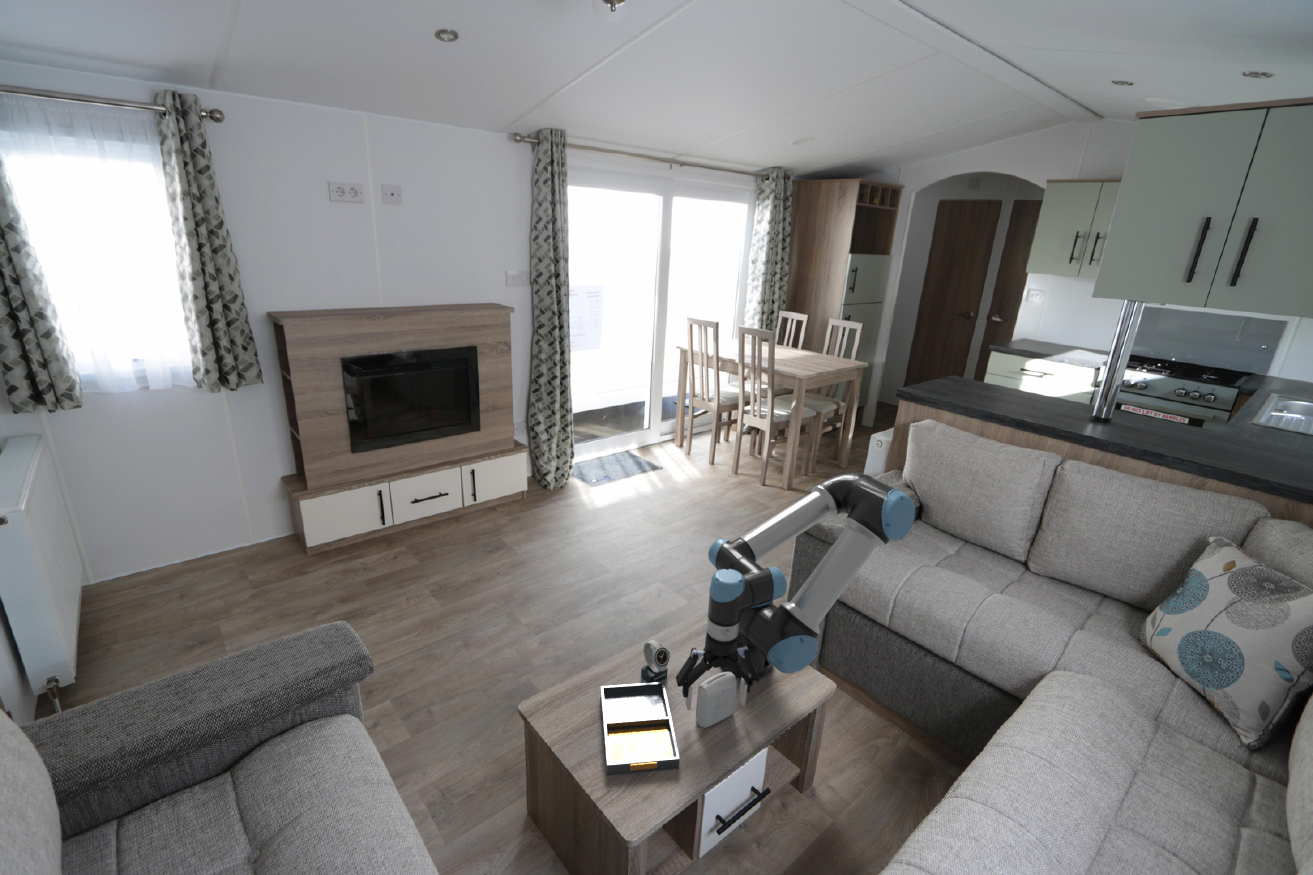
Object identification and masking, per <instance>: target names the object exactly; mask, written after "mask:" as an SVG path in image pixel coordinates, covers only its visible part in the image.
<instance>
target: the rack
mask: <svg viewBox="0 0 1313 875" xmlns="http://www.w3.org/2000/svg"><path fill="white" fill-rule="evenodd" d="M665 687H666V686H665V682H664V681H660V682H654V683H647V682H642V683H641V682H640V683H629V684H628V683H627V684H614V685H613V684H611V685H601V686H600V702H601V704H600V705H601V715H602V716H601V717H602V728H603V740H604V741H603V742H604V753H605V754H604V755H605V767H606V776H617V775H626V774H636V773H637V774H638V773H649V772H657V771H658V772H659V771H670V770H671V771H672V770H680V764H681V763H680V762H681V761H680V760H681V758H680V753H679V748H678V743H677V738H676V735H675V734H676V733H675V729H674V725H673V720H672V714H671V710H670V705H669V700H668V696H667V691H666V688H665Z"/></svg>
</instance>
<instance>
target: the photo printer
mask: <svg viewBox="0 0 1313 875" xmlns="http://www.w3.org/2000/svg"><path fill="white" fill-rule="evenodd" d="M697 688H698V689H697V696H696V697H697V698H696V708H695V709H696V710H695V719H696V723H697V725H698V726H699V727H700V728H705V729H706V728H709V727H711V726H713V725H715V724H717V723H720V722H721V721H723V720H725V719H727V718H729V717H731V716H732V715H733V714H734V710H735V709H734V708H735V702H736V693H737V692H736V691H737V678H736V677H735V675H734V674H732V672H725V671H723V672H720V673H717V674H715V675H713V676H711V677H709V678H707V679H706V680H704V681H703V682H702V683H700V684H699V686H698V687H697Z"/></svg>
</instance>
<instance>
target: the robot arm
mask: <svg viewBox="0 0 1313 875" xmlns="http://www.w3.org/2000/svg"><path fill="white" fill-rule="evenodd" d="M840 514H847V516H846V517H845V525H846V527H845V529H843V531H842V533H840V535H839V537H838V538H837V539H836V540H835V542H834V543H833V544H832V546H830V548H829V549H828V551H827V552H826V554H825V555H824V557H823V558H822V559H821V560H820V562H819V563H818V564H817V565H816V567H815V568H814V570H813V571H812V572H811V574H810V575H809V577H808V578H807V579H806V580H805V582H803V584H802V586H801V587H800V588H799V590H798V591H796V594H795V595H794V596H793V597H792V599H791V601H789V602H786V601H785V602H781V603H780V604H779V606H778V607H777V605H776V604H774V601H775V600H777V599H780V598H782V597H784V596H785V595H786V593H787V587H788V584H787V578H786V576H785V574H784V572H783V571H782V570H781V569H780V568H778V567H776V566H770V567H765V568H764V567H762V566H761V565H760V564H758V562H759V561H760V560H761V559H763V558H765V557H767V556H768V555H769V554H771V553H773V552H774V551H775V550H777V549H779V548H780V547H782V546H784V545H785V544H787V543H788V542H790V541H791V540H793V539H795V538H796V537H798V536H799V535H801V534H803V533H804V532H806V531H807V530H809V529H810V528H812V527H814V526H815V525H816V524H818V523H820V522H821V521H823V520H824V519H826V518H835V517H837V516H838V515H840ZM915 514H916V508H915V504H914V502H913V500H912V498H911V497H910V496H909V495H907V494H905V493H904V492H902V491H900V490H899V489H898V488H894V487H893V486H890V485H888V484H886V483H884V482H882V481H879V480H878V479H875V478H874V477H872V476H870V475H868V474H866V473H865V474H864V473H861V472H848V473H842V474H837V475H835V476H832V477H831V476H830V477H828V478H827V479H825V480H823V481H821V482H819V483H818V484H816V485H814V486H812V488H811V490H810V493H809V494H807V495H805V496H803V497H802V498H800V499H799V500H796V502H794V503H792V504H791V505H789V506H788V507H786V508H785V509H782V510H781V511H780V512H778V513H776V514H775V515H773V516H771V517H770V518H768V519H767V520H764V521H763V522H762V523H760V524H758V525H757V526H755V527H753V528H752V529H751V530H750V529H749V531H747V532H746V533H744V534H742V535H740V536H739V537H738V538H736V539H734V540H732V541H731V540H729V539H727V538H720V539H717V540H715V541H714V542H713V543H712V544H710V545H711V546H710V547H709V549H708V552H707V557H708V560H709V562H710V563H711V564H712V565H713V567H714V568H715V569H716V571H715V572H714V573H713V574H712V576H711V581H710V586H709V594H708V595H709V596H708V597H709V598H708V609H707V621H706V632H705V642H704V648H703V649H702V650H697V648H696V647H692V648H691V649H690V650H691V651H690V654H689V656H688V658H687V659H686V661H685V663H684V664H683V665H682V667H681V669H680V670H679V672H678V673H677V675H676V676H675V682H676V685H677V687H678V688H679V687H682V690H681V691H682V692H681V693H682V696H683V698H684V699H685V706H686V710H687V711H691V710H692V701H693V700H692V697H693V686H692V685H693V684H694V683H695V682H696V681H697V680H699V679H700V677H702V676H703V675H704V674H705V673H706V672H709V671H710V670H711V669H712V668H714V669H717V668H721V669H722V670H723V672H732V674H734V675H735V677H736V679H740V680H741V681H740V688H739V695H738V699H739V702H740V704H741V707H745V706H746V701H747V694H749V693H750V692H751V689H752V686H754V683H753V682H758V681H760V679H762V678H763V677H765V676H766V675H768V673H770V671H771V669H772V667H774V668H775V669H777V670H778V672H781V673H783V674H787V675H788V674H794V673H796V672H797V673H798V672H800V671H802V670H803V669H805V668H807V667H808V666H809V665H810V664H811V663H812V662H813V661H814V659H815V658H816V656H817V654H818V651H819V645H818V642H817V638H818V637H819V635H820V633H821V632H820V628H819V627H820V623H821V622H822V620H823V619H824V618H825V616H826V615H827V614H828V613H829V611H830V610H831V608H832V607H833V606H834V604H835V603H836V601H837V600H838V598H840V596H841V595H842V593H843V592H844V591H845V589H846V588H847V587H848V586H849V584H850V583H851V581H852V580H853V579H854V577H855V576H856V575H857V574H858V572H859V571H860V570H861V568H862V567H863V565H864V564H865V563H866V561H867V560H868V559H869V557H870V556H871V555H872V553H874V551H875V549H877V548H882V547H886V546H887V544H888V543H889V542H890V541H893V542H898V541H901V539H904V538H905V537H906V536H907V535H908V534H909V532H910V531H911V528H912V527H913V524H914V521H915V518H916V517H915V516H916V515H915Z"/></svg>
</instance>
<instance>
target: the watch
mask: <svg viewBox="0 0 1313 875" xmlns="http://www.w3.org/2000/svg"><path fill="white" fill-rule="evenodd" d="M642 651H643V656H644V660H645V663H647V664H645V665H644V666H641V668H640V669H641V670H640V677H641V679H643V681H644V682H645V683H654V682H663V681H664V680H666V679H668V671H669V670H668V668H667V667H668V666H669V662H670V658H671V655H670V654H671V652H670V650H668V649H667V648H666V646H664V645H663V643H661V642H660V641H658V639H654V638H653V639H651V640H649V641H646V642H644V645H643V650H642Z"/></svg>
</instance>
